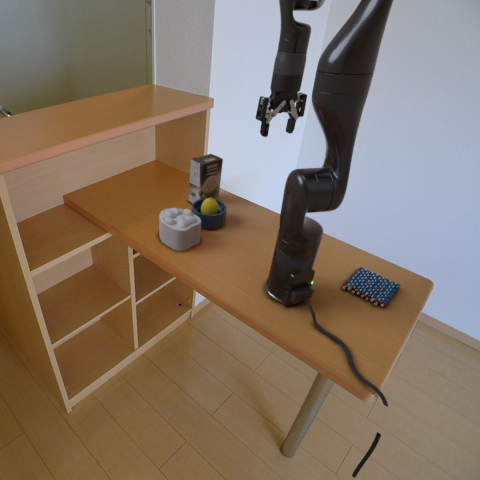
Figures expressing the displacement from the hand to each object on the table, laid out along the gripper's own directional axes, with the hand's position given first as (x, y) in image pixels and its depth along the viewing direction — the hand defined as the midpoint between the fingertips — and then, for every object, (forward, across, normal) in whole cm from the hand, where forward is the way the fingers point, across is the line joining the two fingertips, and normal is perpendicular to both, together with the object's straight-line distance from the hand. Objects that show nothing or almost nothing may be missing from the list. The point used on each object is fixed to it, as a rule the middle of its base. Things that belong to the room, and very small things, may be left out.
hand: (276, 134), depth 101 cm
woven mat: (+30, +8, -36) cm, 48 cm away
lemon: (+29, -14, +8) cm, 34 cm away
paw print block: (+30, -28, +4) cm, 41 cm away
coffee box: (+29, -9, +21) cm, 37 cm away
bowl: (+30, -14, +8) cm, 34 cm away
